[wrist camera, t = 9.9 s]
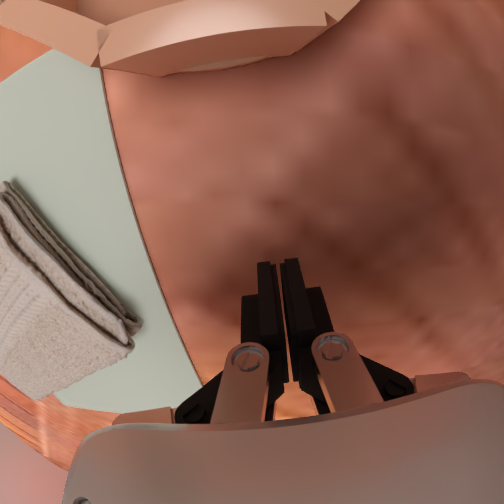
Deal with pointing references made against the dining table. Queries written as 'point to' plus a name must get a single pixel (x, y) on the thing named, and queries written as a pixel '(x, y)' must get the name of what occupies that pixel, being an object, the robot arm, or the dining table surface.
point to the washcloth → (52, 307)
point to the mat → (92, 222)
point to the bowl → (172, 30)
